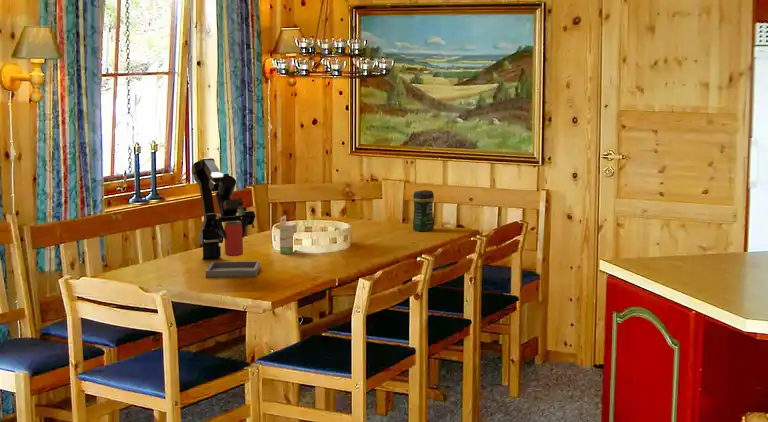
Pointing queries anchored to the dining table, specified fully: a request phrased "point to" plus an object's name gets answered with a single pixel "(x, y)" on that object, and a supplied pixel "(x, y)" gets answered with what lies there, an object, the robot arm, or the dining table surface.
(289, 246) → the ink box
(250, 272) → the parts tray
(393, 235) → the dining table surface
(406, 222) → the dining table surface
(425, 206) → the coffee jar
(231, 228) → the beer can
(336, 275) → the dining table surface
